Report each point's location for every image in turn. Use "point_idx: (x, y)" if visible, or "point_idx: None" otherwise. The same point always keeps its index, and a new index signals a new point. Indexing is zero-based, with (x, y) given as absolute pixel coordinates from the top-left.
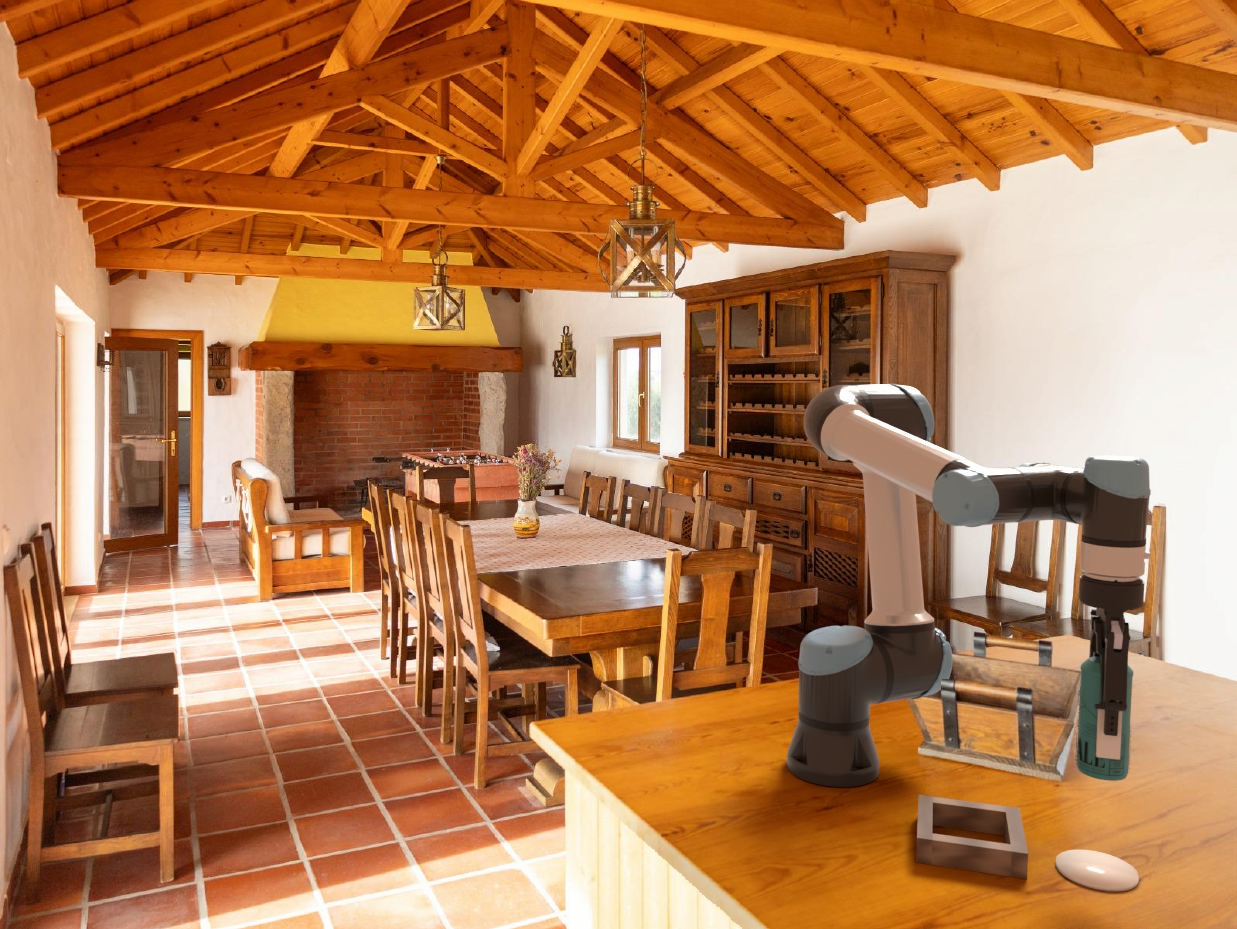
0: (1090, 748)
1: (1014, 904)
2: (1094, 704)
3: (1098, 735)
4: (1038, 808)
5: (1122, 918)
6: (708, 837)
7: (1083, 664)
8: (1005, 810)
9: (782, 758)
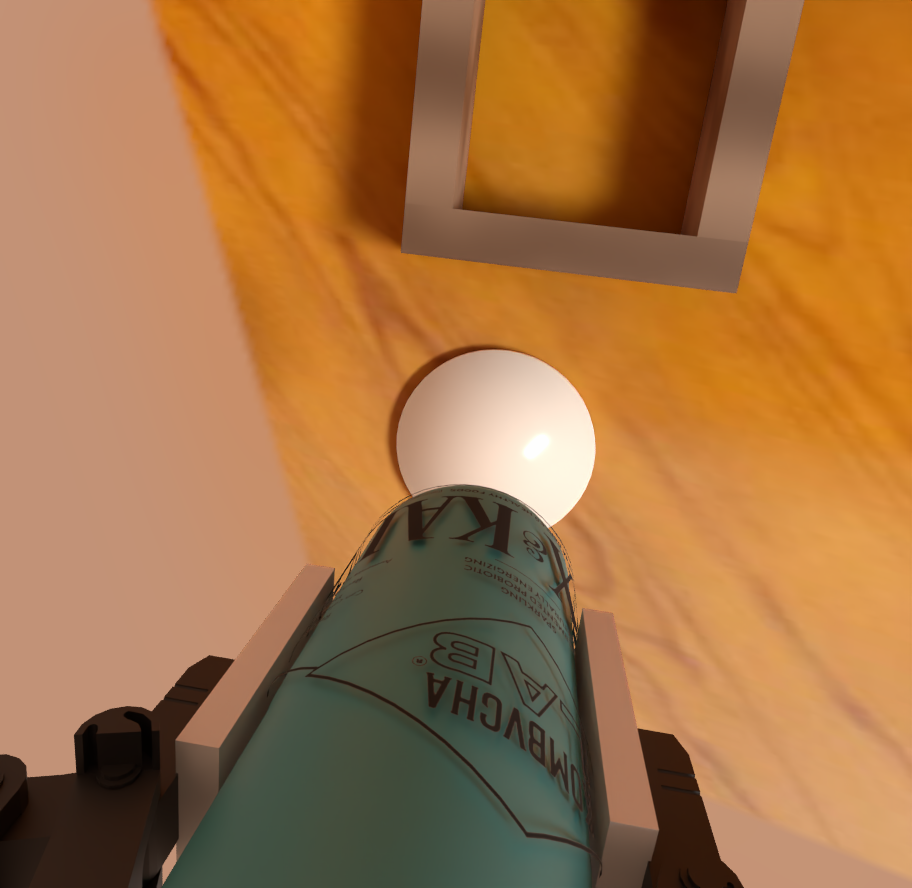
0: (361, 562)
1: (275, 191)
2: (151, 727)
3: (261, 625)
4: (891, 388)
5: (281, 440)
6: None
7: None
8: (710, 238)
9: None
